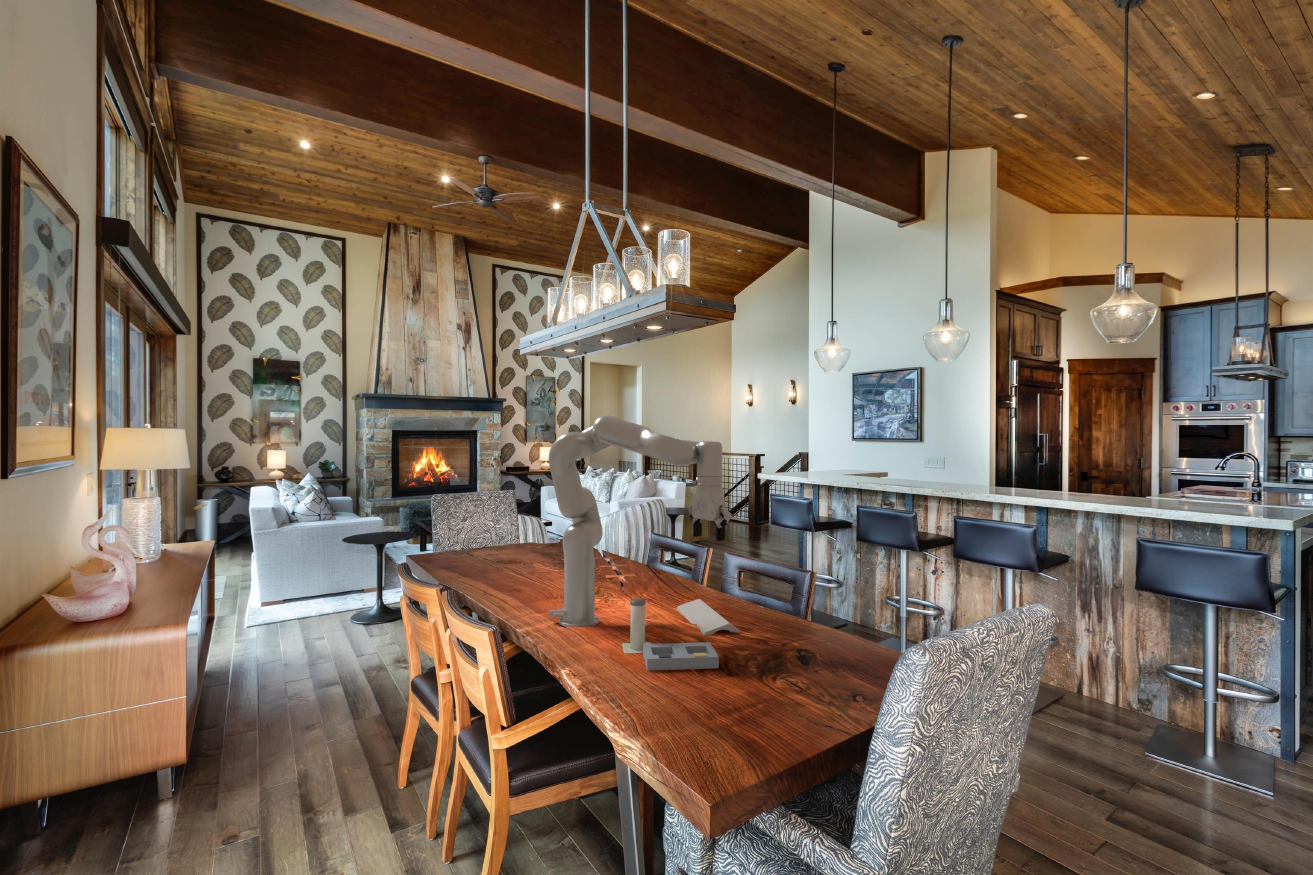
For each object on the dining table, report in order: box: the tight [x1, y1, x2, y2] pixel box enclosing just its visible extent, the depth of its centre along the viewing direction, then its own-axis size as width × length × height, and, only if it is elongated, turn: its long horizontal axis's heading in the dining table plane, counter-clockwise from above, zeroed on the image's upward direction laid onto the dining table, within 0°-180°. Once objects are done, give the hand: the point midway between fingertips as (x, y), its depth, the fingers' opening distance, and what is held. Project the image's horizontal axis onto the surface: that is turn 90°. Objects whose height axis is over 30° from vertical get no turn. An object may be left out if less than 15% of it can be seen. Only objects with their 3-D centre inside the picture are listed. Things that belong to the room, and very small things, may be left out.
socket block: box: [642, 641, 720, 671], centre depth 161 cm, size 18×11×4 cm, turn 97°
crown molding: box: [675, 598, 742, 636], centre depth 201 cm, size 29×12×4 cm, turn 15°
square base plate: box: [621, 642, 652, 654], centre depth 171 cm, size 8×8×1 cm
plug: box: [629, 597, 647, 650], centre depth 171 cm, size 4×4×13 cm
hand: (708, 538), depth 189 cm, fingers open, 9 cm apart
